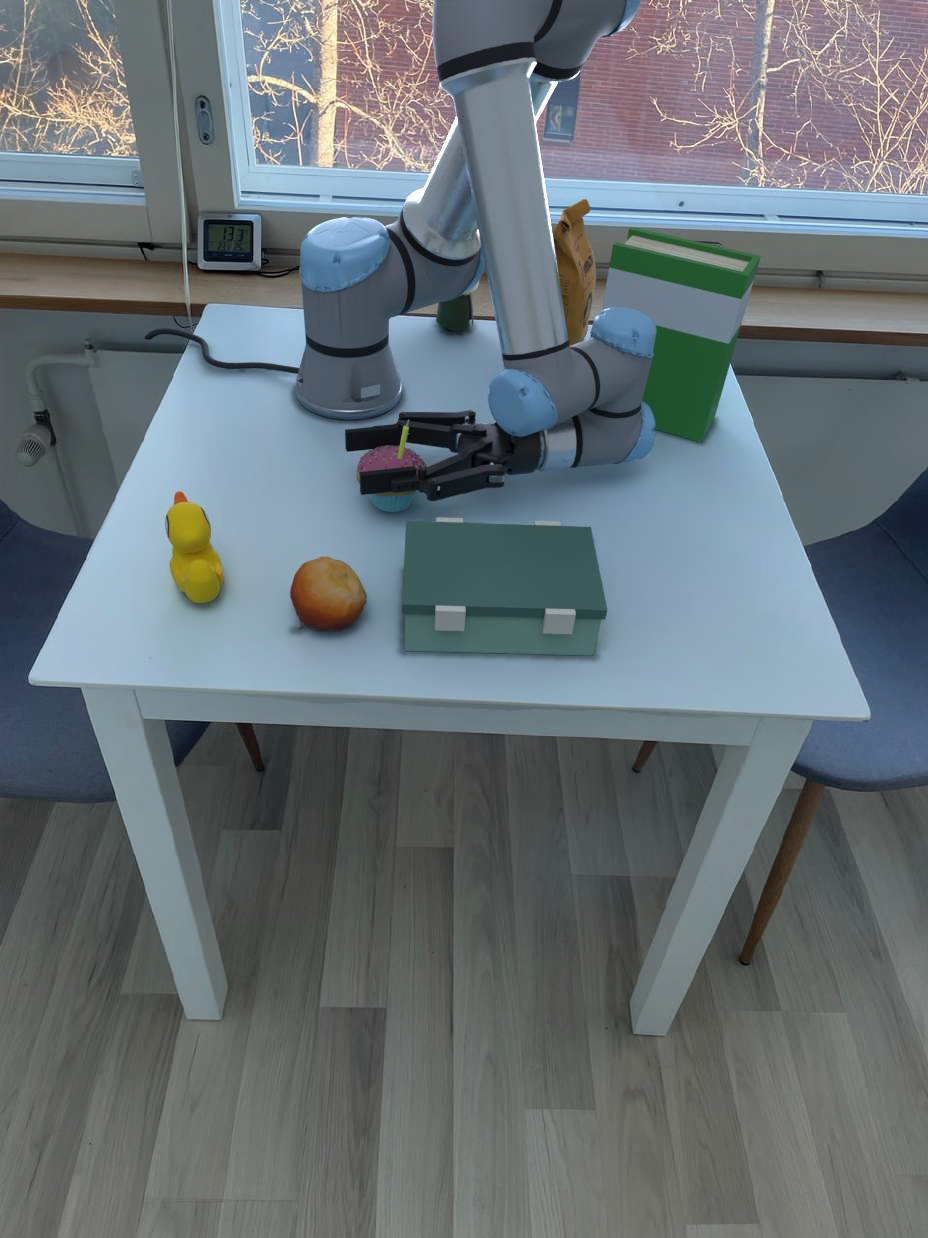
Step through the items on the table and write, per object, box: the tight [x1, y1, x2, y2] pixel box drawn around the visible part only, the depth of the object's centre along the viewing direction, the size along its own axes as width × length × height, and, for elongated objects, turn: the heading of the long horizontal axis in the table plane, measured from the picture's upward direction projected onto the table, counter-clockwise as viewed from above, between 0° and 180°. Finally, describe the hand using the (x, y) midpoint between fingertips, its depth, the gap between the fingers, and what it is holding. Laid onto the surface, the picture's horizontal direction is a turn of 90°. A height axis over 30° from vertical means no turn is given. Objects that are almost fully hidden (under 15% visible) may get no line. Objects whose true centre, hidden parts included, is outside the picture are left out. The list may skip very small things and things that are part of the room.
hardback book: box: [601, 226, 762, 443], centre depth 122 cm, size 18×7×24 cm, turn 64°
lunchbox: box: [401, 516, 608, 657], centre depth 96 cm, size 21×15×7 cm
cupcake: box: [356, 420, 428, 513], centre depth 106 cm, size 9×8×12 cm
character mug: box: [435, 280, 480, 332], centre depth 144 cm, size 11×7×13 cm, turn 148°
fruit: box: [289, 556, 368, 632], centre depth 94 cm, size 8×8×8 cm
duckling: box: [164, 490, 225, 604], centre depth 95 cm, size 11×5×10 cm, turn 23°
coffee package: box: [552, 198, 597, 346], centre depth 137 cm, size 10×12×22 cm
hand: (353, 461), depth 105 cm, fingers closed on cupcake, 8 cm apart
